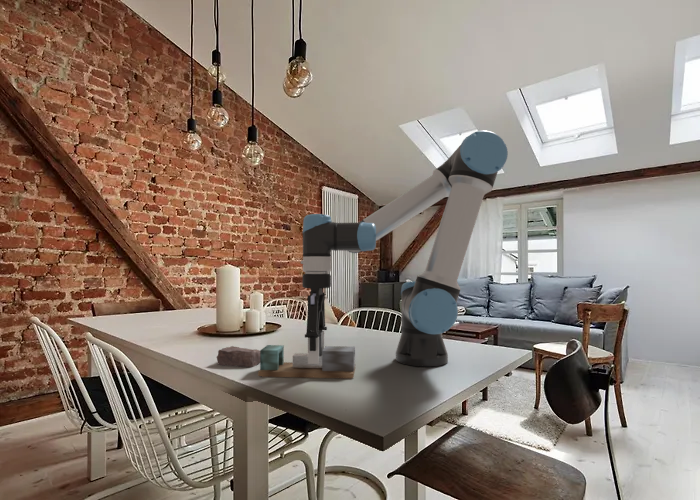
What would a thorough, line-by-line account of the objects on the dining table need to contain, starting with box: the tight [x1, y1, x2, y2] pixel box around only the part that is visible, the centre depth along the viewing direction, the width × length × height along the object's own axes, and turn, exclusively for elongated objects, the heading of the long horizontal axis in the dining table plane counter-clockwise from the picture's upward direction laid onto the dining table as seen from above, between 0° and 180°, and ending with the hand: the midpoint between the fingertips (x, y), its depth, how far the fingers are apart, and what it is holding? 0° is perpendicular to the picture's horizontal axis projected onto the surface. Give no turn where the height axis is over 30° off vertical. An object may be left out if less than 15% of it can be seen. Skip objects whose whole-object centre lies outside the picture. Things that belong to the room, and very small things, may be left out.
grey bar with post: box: [292, 330, 356, 368], centre depth 103 cm, size 16×3×9 cm, turn 86°
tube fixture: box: [257, 344, 356, 379], centre depth 103 cm, size 24×10×6 cm, turn 86°
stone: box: [216, 345, 261, 368], centre depth 113 cm, size 9×12×5 cm
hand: (316, 358), depth 103 cm, fingers open, 9 cm apart
